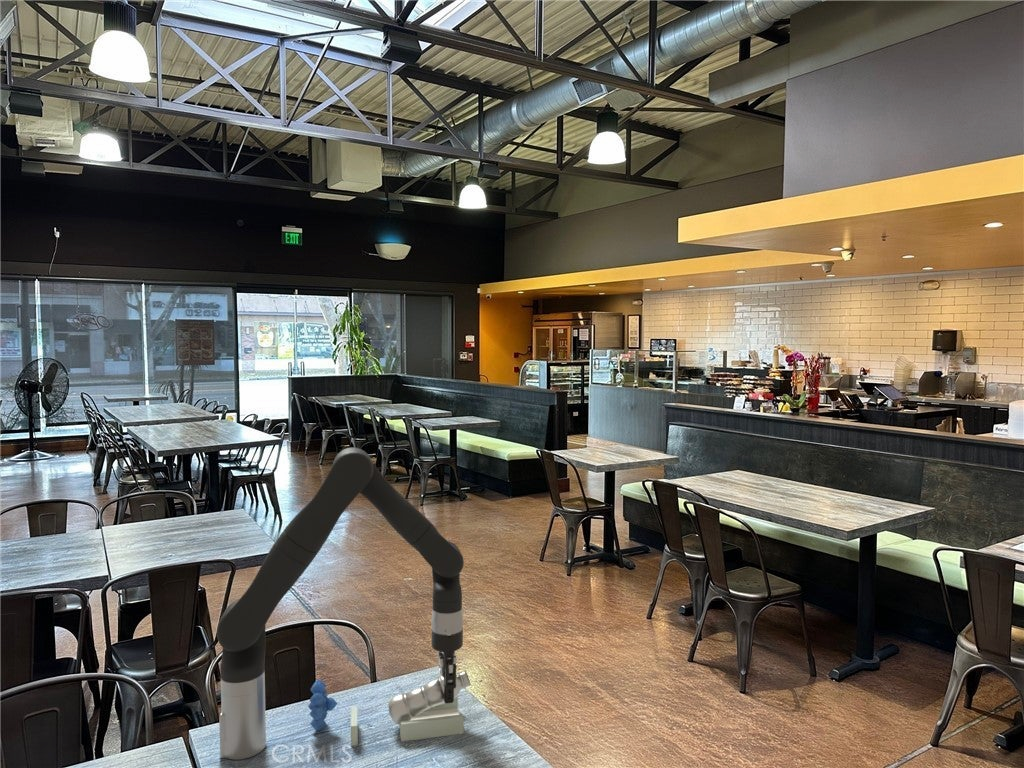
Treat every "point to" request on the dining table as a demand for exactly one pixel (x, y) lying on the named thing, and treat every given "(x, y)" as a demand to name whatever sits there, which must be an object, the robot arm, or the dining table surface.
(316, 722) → the grapes
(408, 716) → the silver metal bottle
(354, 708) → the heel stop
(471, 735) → the dining table surface
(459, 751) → the dining table surface
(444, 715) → the cradle
